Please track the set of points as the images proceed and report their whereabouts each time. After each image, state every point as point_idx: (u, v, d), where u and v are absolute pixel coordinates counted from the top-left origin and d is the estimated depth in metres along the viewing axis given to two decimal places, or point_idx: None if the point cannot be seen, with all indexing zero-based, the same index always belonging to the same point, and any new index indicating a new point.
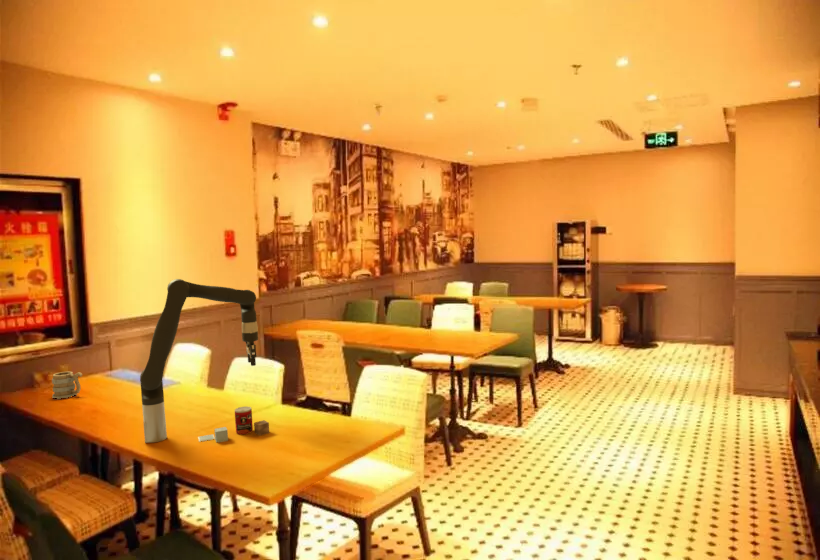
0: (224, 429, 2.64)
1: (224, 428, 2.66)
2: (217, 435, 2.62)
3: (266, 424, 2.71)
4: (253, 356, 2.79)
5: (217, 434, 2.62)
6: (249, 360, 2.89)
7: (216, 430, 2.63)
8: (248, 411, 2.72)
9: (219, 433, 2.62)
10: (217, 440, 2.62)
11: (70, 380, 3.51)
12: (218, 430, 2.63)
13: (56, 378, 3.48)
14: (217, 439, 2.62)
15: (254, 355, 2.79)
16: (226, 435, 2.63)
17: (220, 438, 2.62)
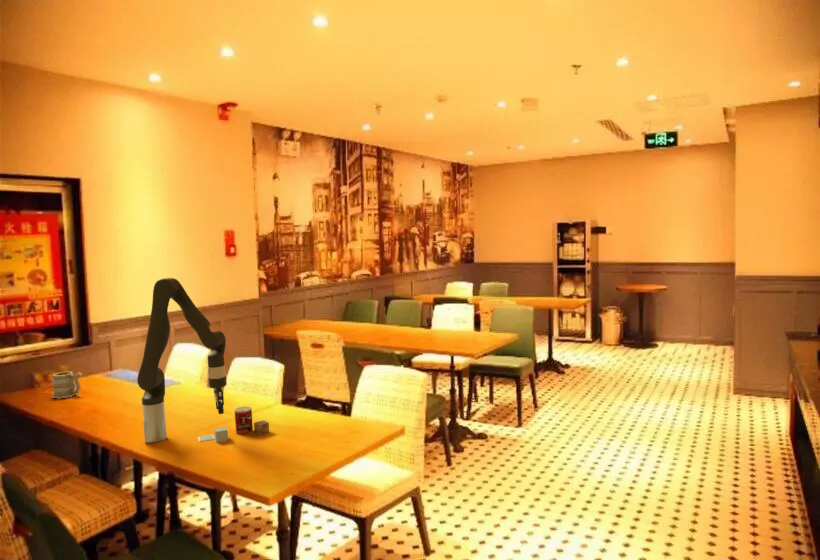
0: (224, 429, 2.64)
1: (224, 428, 2.66)
2: (217, 435, 2.62)
3: (266, 424, 2.71)
4: (220, 404, 2.57)
5: (217, 434, 2.62)
6: (217, 407, 2.67)
7: (216, 430, 2.63)
8: (248, 411, 2.72)
9: (219, 433, 2.62)
10: (217, 440, 2.62)
11: (70, 380, 3.51)
12: (218, 430, 2.63)
13: (56, 378, 3.48)
14: (217, 439, 2.62)
15: (221, 403, 2.57)
16: (226, 435, 2.63)
17: (220, 438, 2.62)
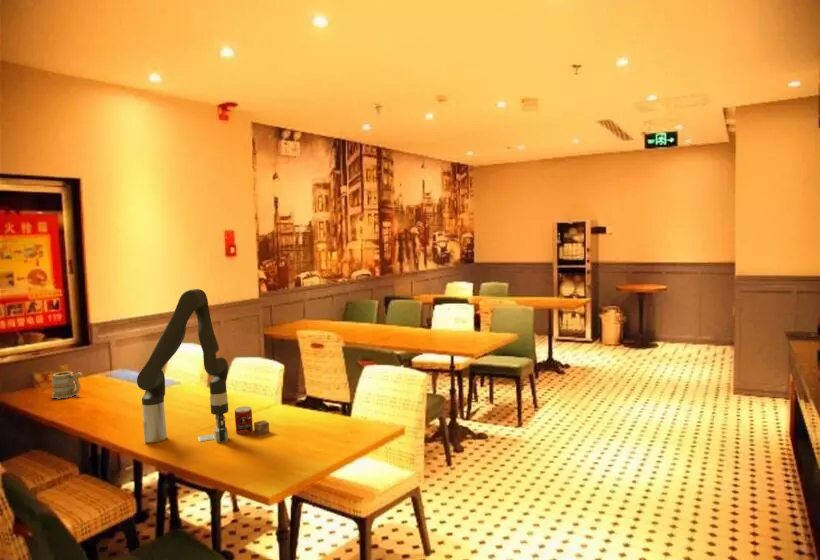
0: None
1: None
2: (217, 435, 2.62)
3: (266, 424, 2.71)
4: (222, 432, 2.59)
5: (217, 434, 2.62)
6: None
7: (216, 430, 2.63)
8: (248, 411, 2.72)
9: None
10: (217, 440, 2.62)
11: (70, 380, 3.51)
12: (218, 430, 2.63)
13: (56, 378, 3.48)
14: (217, 439, 2.62)
15: (223, 430, 2.60)
16: (226, 435, 2.63)
17: None
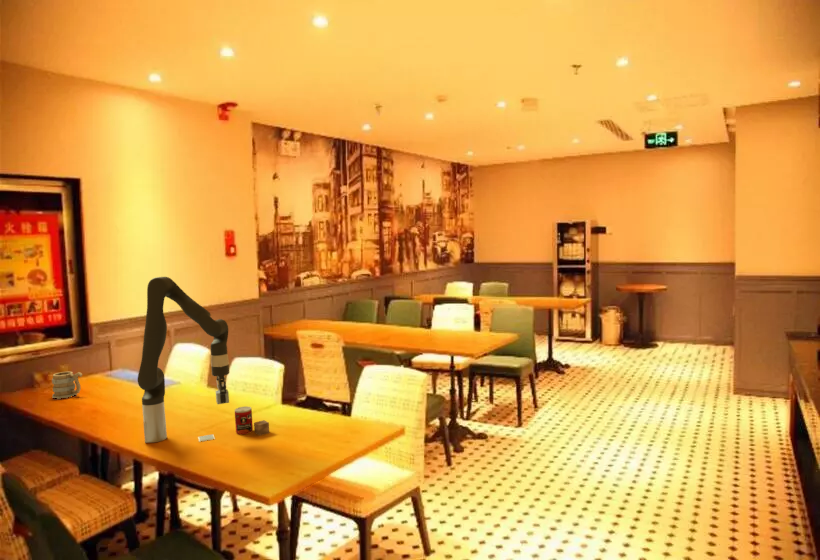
0: None
1: None
2: (218, 396, 2.61)
3: (266, 424, 2.71)
4: (223, 393, 2.59)
5: (218, 395, 2.61)
6: None
7: (217, 392, 2.63)
8: (248, 411, 2.72)
9: None
10: (218, 402, 2.62)
11: (70, 380, 3.51)
12: (219, 392, 2.63)
13: (56, 378, 3.48)
14: (218, 401, 2.62)
15: (224, 392, 2.59)
16: (227, 397, 2.63)
17: None
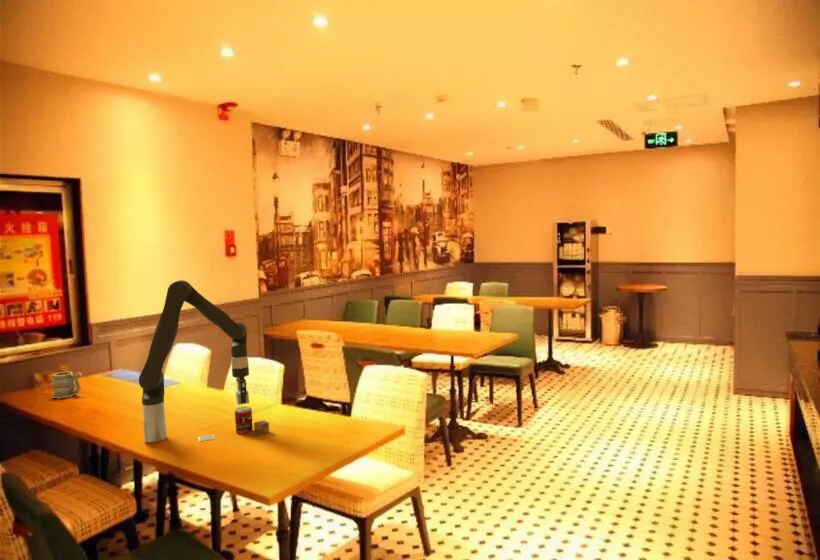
0: None
1: None
2: (238, 397, 2.70)
3: (266, 424, 2.71)
4: (243, 394, 2.68)
5: (238, 396, 2.70)
6: None
7: (237, 393, 2.72)
8: (248, 411, 2.72)
9: None
10: (238, 402, 2.71)
11: (70, 380, 3.51)
12: (239, 392, 2.72)
13: (56, 378, 3.48)
14: (238, 401, 2.70)
15: (244, 393, 2.68)
16: (247, 397, 2.72)
17: None
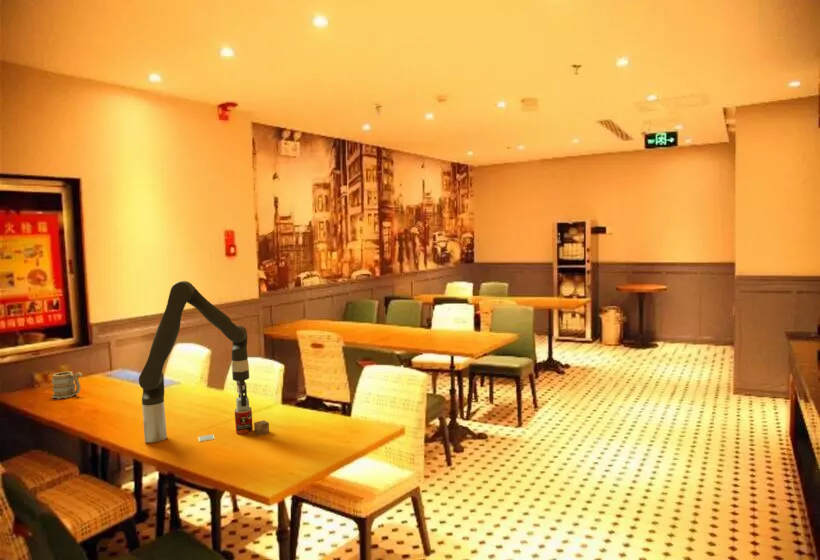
0: None
1: None
2: (239, 404, 2.70)
3: (266, 424, 2.71)
4: (243, 397, 2.67)
5: (239, 403, 2.70)
6: None
7: (238, 399, 2.72)
8: (248, 411, 2.72)
9: (240, 401, 2.71)
10: (239, 408, 2.71)
11: (70, 380, 3.51)
12: (240, 399, 2.72)
13: (56, 378, 3.48)
14: (239, 407, 2.71)
15: (245, 396, 2.68)
16: (247, 404, 2.72)
17: (242, 407, 2.71)
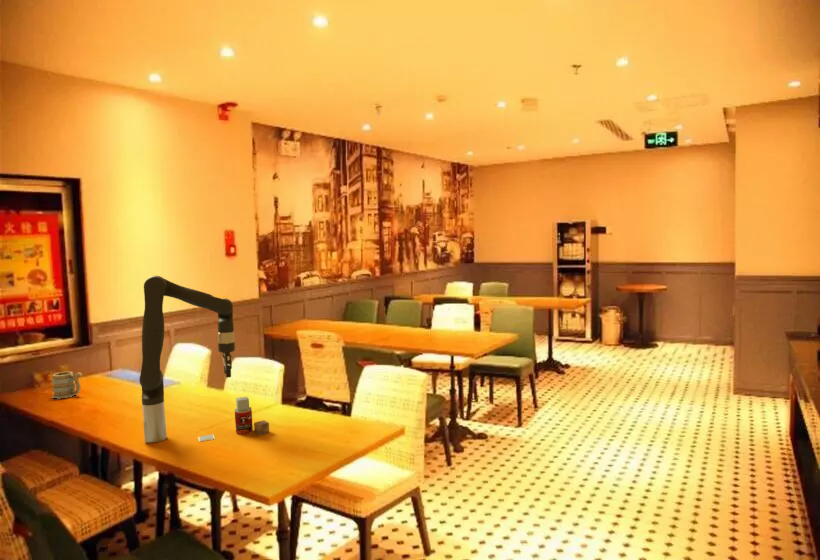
0: (245, 398, 2.73)
1: (245, 397, 2.75)
2: (239, 404, 2.70)
3: (266, 424, 2.71)
4: (228, 368, 2.70)
5: (239, 403, 2.70)
6: (225, 371, 2.80)
7: (238, 399, 2.72)
8: (248, 411, 2.72)
9: (240, 401, 2.71)
10: (239, 408, 2.71)
11: (70, 380, 3.51)
12: (240, 399, 2.72)
13: (56, 378, 3.48)
14: (239, 408, 2.71)
15: (229, 367, 2.70)
16: (247, 404, 2.72)
17: (242, 407, 2.71)
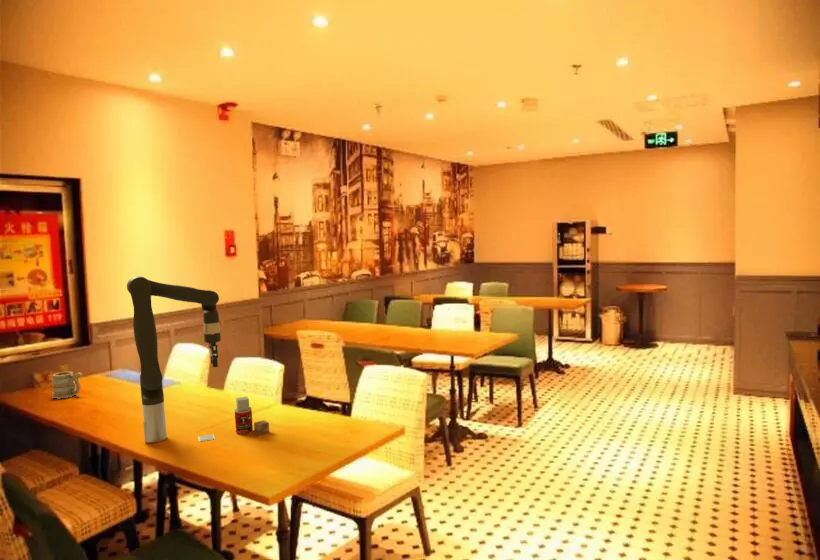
0: (245, 398, 2.73)
1: (245, 397, 2.75)
2: (239, 404, 2.70)
3: (266, 424, 2.71)
4: (215, 357, 2.75)
5: (239, 403, 2.70)
6: (212, 361, 2.85)
7: (238, 399, 2.72)
8: (248, 411, 2.72)
9: (240, 401, 2.71)
10: (239, 408, 2.71)
11: (70, 380, 3.51)
12: (240, 399, 2.72)
13: (56, 378, 3.48)
14: (239, 407, 2.71)
15: (216, 356, 2.75)
16: (247, 404, 2.72)
17: (242, 407, 2.71)
